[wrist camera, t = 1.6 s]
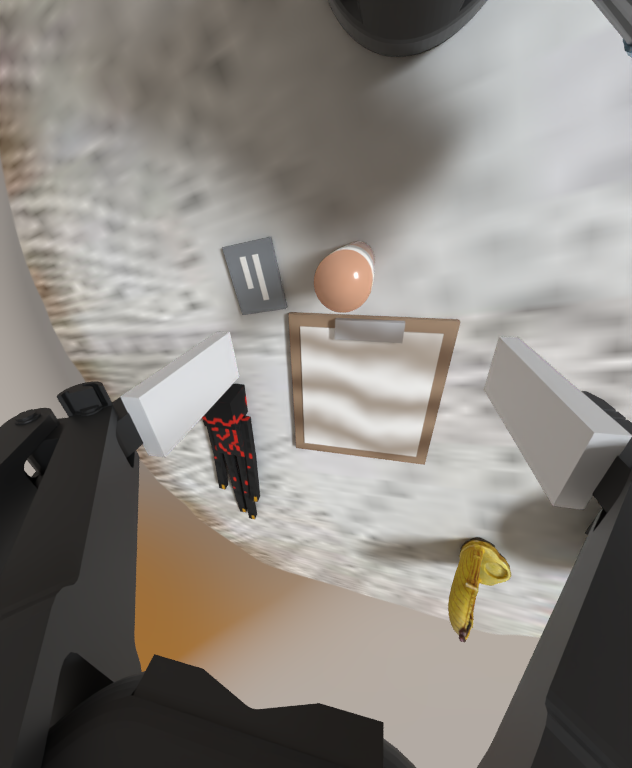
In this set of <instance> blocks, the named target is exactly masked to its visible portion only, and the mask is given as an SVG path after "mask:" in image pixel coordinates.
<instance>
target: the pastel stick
mask: <svg viewBox="0 0 632 768" xmlns="http://www.w3.org/2000/svg"><path fill="white" fill-rule="evenodd" d="M374 264H375V256H374V253H373V250H372V249H371V247H370V246H369V245H367V244H366V243H364V242H360V241H355V242H351V243H349V244H348V245H346V246H344V247H341V248H339V249H337V250H336V251H334V252H332V253H330V254H329V255H328V256H327V257H325V258H324V259H323V260H322V261H321V263H320V264H319V266H318V267H317V270H316V272H315V276H314V288H315V292H316V295H317V297H318V299H319V300H320V302H321V303H322V304H323V305H324V306H325V307H327V308H328V309H330V310H332V311H335V312H350V311H353V310H355V309H357V308H359V307H360V306H361V305H362V304H363V303H364V302H365V301H366V300H367V298H368V296H369V294H370V292H371V289H372V285H373V279H374Z"/></svg>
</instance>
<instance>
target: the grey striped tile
mask: <svg viewBox="0 0 632 768" xmlns="http://www.w3.org/2000/svg"><path fill="white" fill-rule="evenodd" d="M222 249H223V252H224V255H225V259H226V262H227V265H228V269H229V272H230V275H231V278H232V282H233V285H234V288H235V292H236V295H237V298H238V302H239V305H240V308H241V311H242V315H245V314H252V313H259V312H266V311H273V310H280V309H286V308H287V304H286V300H285V295H284V291H283V287H282V282H281V278H280V273H279V269H278V265H277V260H276V256H275V251H274V247H273V243H272V238H271V237H267V238H263V239H258V240H254V241H249V242H244V243H240V244H235V245H231V246H226V247H222Z"/></svg>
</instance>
